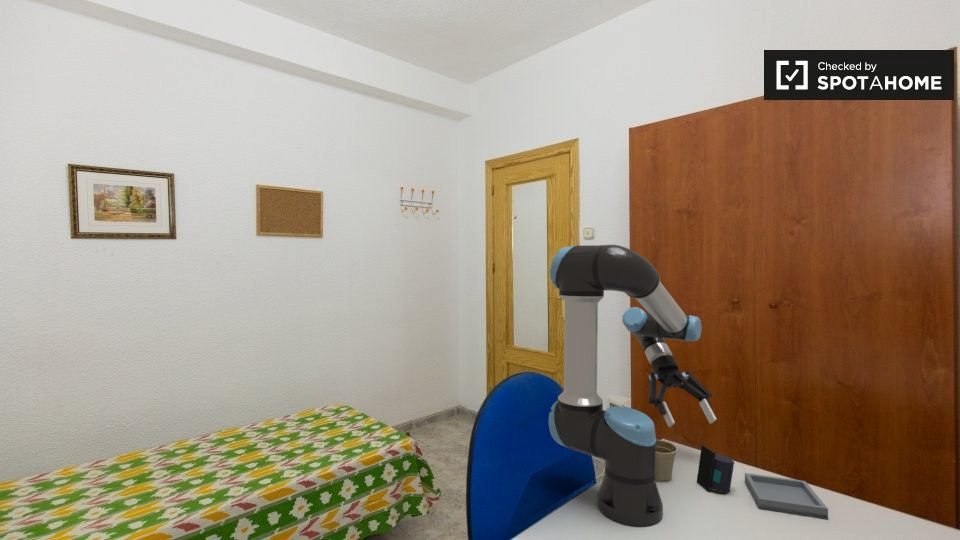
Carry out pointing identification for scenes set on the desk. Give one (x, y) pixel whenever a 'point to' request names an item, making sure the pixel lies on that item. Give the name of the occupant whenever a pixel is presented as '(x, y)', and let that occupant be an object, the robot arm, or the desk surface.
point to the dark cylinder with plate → (714, 471)
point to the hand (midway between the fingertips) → (692, 423)
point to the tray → (785, 496)
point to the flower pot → (664, 459)
